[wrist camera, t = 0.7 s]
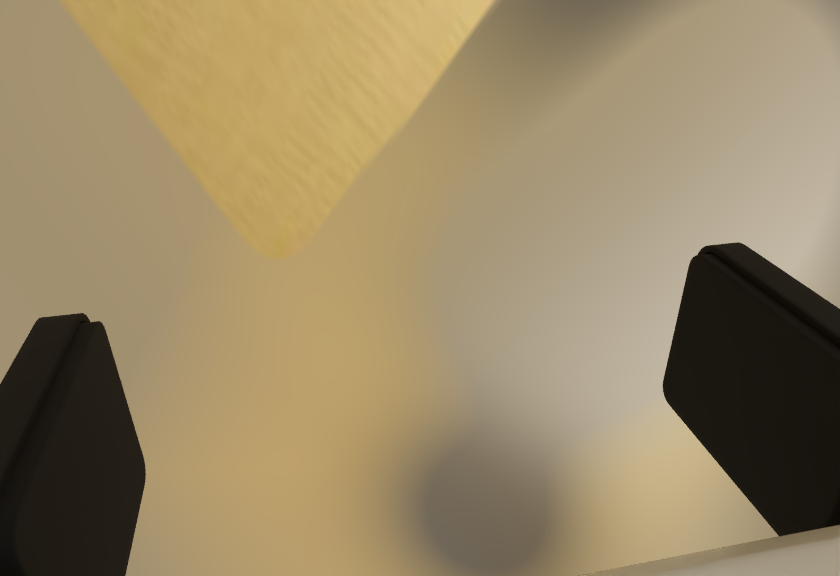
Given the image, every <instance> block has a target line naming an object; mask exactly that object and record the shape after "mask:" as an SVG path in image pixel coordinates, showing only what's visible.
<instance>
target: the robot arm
mask: <svg viewBox="0 0 840 576" xmlns="http://www.w3.org/2000/svg"><path fill="white" fill-rule="evenodd" d="M663 392H664V396H665V398H666V401H667V402H668V404H669V405H670V406H671V407H672V409H673V410H674V411H675V412H676V413H677V415H678V416H679V417H680V418H681V419H682V421H683V422H684V423H685V424H686V425H687V427H688V428H689V429H690V430H691V431H692V432H693V434H694V435H695V436H696V437H697V439H698V440H699V441H700V442H701V443H702V445H703V446H704V447H705V448H706V449H707V450H708V452H709V453H710V454H711V455H712V456H713V458H714V459H715V460H716V461H717V462H718V464H719V465H720V466H721V467H722V468H723V470H724V471H725V472H726V473H727V474H728V476H729V477H730V478H731V479H732V480H733V482H734V483H735V484H736V485H737V486H738V488H740V490H741V491H742V492H743V494H744V495H745V496H746V497H747V498H748V500H749V501H750V502H751V503H752V504H753V505H754V507H755V508H756V509H757V510H758V512H759V513H760V514H761V515H762V516H763V518H764V519H765V520H766V521H767V522H768V524H769V525H770V526H771V527H772V528H773V529H774V531H775V532H776V533H777V534H778V535H779V537H774V538H769V539H764V540H759V541H753V542H749V543H743V544H738V545H733V546H727V547H722V548H717V549H712V550H707V551H702V552H696V553H692V554H687V555H682V556H677V557H671V558H666V559H661V560H656V561H651V562H646V563H641V564H636V565H631V566H626V567H621V568H615V569H610V570H605V571H600V572H595V573H590V574H586V575H580V576H840V309H839V308H837V307H836V306H834V305H833V304H831V303H830V302H829V301H827V300H825V299H824V298H822V297H821V296H820V295H818V294H817V293H815V292H814V291H812V290H811V289H809V288H808V287H806V286H805V285H803V284H802V283H800V282H799V281H797V280H796V279H794V278H793V277H791V276H790V275H788V274H787V273H786V272H784V271H783V270H781V269H780V268H778V267H777V266H775V265H774V264H772V263H771V262H769V261H768V260H766V259H765V258H763V257H762V256H760V255H759V254H757V253H756V252H755V251H753V250H752V249H750V248H749V247H747V246H746V245H744V244H742V243H728V244H720V245H710V246H705V247H704V248H702V249H701V251H700V252H699V253H698V255H697V256H695V257H693V258H692V260H691V262H690V264H689V268H688V273H687V277H686V282H685V286H684V291H683V296H682V300H681V304H680V309H679V313H678V317H677V322H676V326H675V331H674V336H673V340H672V345H671V349H670V353H669V358H668V362H667V367H666V371H665V376H664V381H663ZM145 475H146V473H145V463H144V458H143V454H142V451H141V447H140V444H139V441H138V437H137V434H136V431H135V427H134V424H133V421H132V417H131V414H130V411H129V407H128V404H127V401H126V398H125V394H124V391H123V387H122V384H121V381H120V377H119V374H118V370H117V367H116V364H115V360H114V357H113V354H112V350H111V347H110V344H109V340H108V337H107V333H106V331H105V328H104V326H103V324H102V323H101V322H99V321H98V322H90V320H89V319H88V317H87V316H86V315H85V314H83V313H80V314H71V315H61V316H52V317H43V318H39V319H38V320H37V321H36V323H35V324H34V326H33V328H32V330H31V331H30V333H29V335H28V337H27V338H26V340H25V342H24V344H23V345H22V347H21V349H20V351H19V352H18V354H17V356H16V358H15V359H14V361H13V363H12V365H11V366H10V368H9V370H8V372H7V373H6V375H5V377H4V379H3V380H2V382H1V384H0V576H125V574H126V570H127V565H128V560H129V555H130V551H131V546H132V542H133V537H134V532H135V528H136V523H137V518H138V513H139V509H140V504H141V499H142V495H143V490H144V485H145Z"/></svg>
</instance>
